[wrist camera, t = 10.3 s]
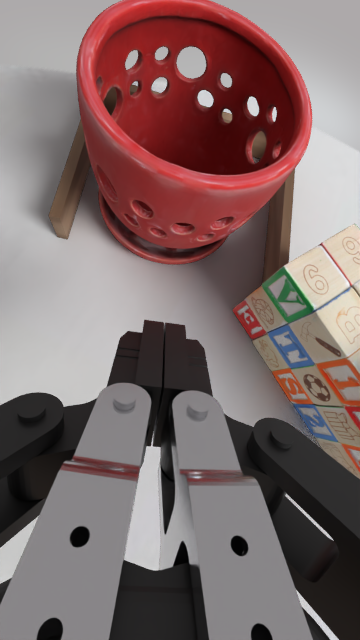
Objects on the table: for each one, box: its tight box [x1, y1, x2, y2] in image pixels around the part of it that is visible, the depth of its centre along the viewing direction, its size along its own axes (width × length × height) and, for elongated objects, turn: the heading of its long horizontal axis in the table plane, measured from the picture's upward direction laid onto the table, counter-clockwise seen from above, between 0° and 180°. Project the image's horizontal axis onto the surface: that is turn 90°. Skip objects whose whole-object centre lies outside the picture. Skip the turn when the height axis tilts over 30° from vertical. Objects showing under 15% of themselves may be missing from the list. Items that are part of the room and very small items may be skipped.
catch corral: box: [49, 84, 295, 284], centre depth 26 cm, size 19×14×3 cm
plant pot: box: [76, 0, 312, 264], centre depth 21 cm, size 13×13×12 cm
